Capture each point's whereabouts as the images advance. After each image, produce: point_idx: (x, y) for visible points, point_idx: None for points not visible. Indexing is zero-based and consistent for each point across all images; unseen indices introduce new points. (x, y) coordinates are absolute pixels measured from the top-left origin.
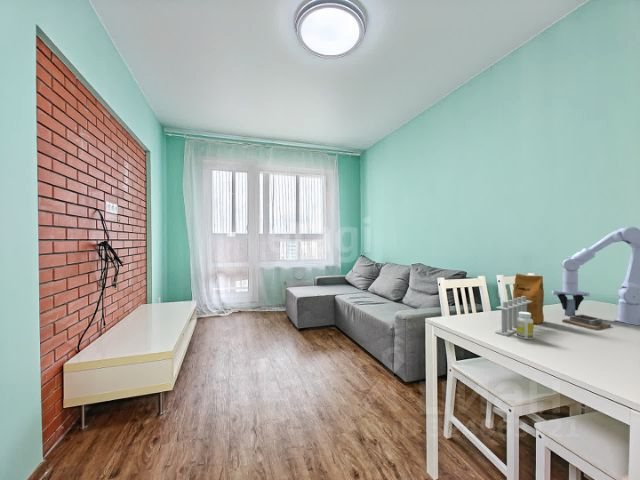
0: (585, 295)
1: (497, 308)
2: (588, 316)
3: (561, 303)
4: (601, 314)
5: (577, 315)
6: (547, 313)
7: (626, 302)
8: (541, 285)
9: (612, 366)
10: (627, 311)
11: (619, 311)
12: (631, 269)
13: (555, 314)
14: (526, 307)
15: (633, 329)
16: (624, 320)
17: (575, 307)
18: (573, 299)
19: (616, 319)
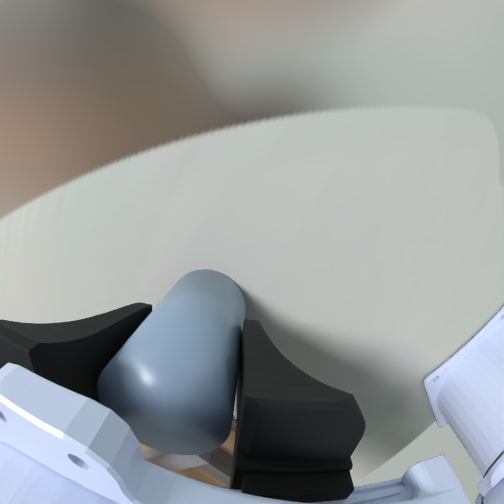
0: (384, 499)
1: None
2: (224, 480)
3: (101, 319)
4: (478, 217)
5: (168, 468)
6: (66, 271)
7: (480, 491)
8: None
9: None
10: (465, 448)
11: (468, 417)
12: None
13: (106, 294)
14: None
15: (364, 475)
16: (439, 408)
17: (239, 365)
18: (221, 407)
19: (439, 377)
